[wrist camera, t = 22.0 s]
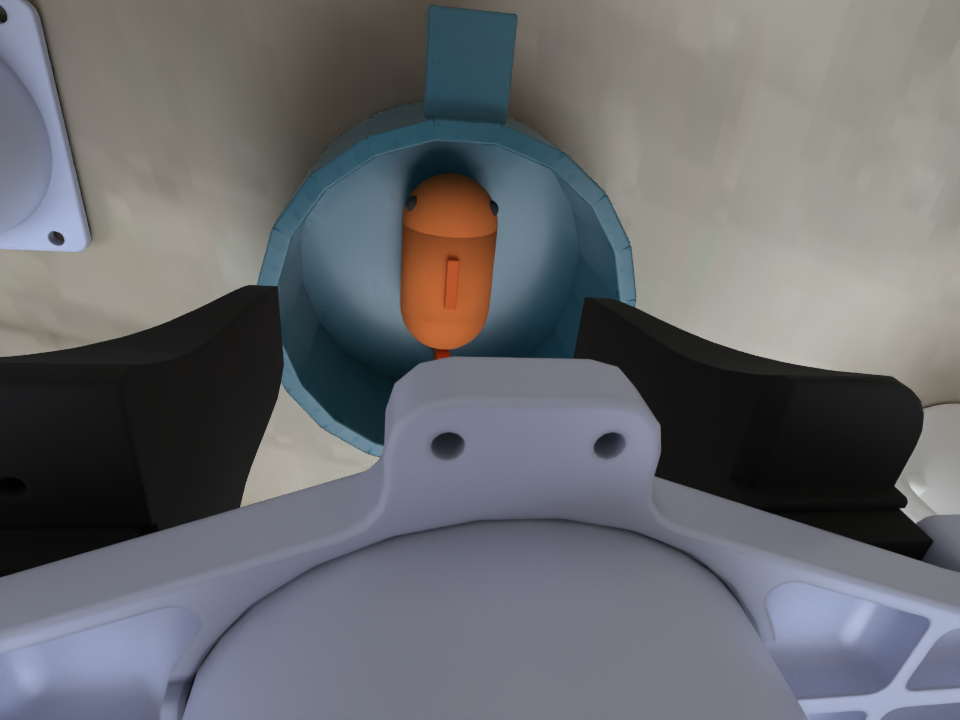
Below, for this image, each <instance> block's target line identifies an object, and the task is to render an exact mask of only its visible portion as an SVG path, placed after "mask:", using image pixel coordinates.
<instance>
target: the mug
mask: <svg viewBox="0 0 960 720" xmlns="http://www.w3.org/2000/svg"><path fill="white" fill-rule="evenodd" d="M923 411H924V421H923V430H922V433H921V435H920V438H919V440H918V443H917V445H916V447H915V449H914V451H913V453H912V455H911V457H910V458H909V460H908V462H907V464H906V466H905V467H904V469H903V471H902V473H901V475H900V477H899V478H898V480H897V482H896V484H895V487H896V488H897V489H898V490H899V491H900V492H901V493H902V494H903V495H905V496H906V497H907V501H908V504H907V505H906V507H905V508H900V509H901V510H902V511H903V512H904V513H905V514H906V515H907V516H908V517H909V518H910V519H911V520H912V521H913V522H914V523H915V524H916V523H917V522H918V521H920V520H922V519H923V518H925V517H928V516H933V515H956V514H960V404H942V405H936V406H931V407H928V408H924V409H923Z"/></svg>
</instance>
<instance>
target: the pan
mask: <svg viewBox="0 0 960 720" xmlns="http://www.w3.org/2000/svg"><path fill="white" fill-rule="evenodd" d="M516 26H517V15H516V14H510V13H501V12H492V11H482V10H473V9H464V8H455V7H445V6H436V5H430V6H429V7H428V8H427V29H426V54H425V79H424V101H421V102H415V103H408V104H404V105H401V106H397V107H394V108H390V109H386V110H384V111H382V112H379V113H375V114H374V115H371V116H369V117H368V118H366V119H365V120H363V121H361V122H360V123H358V124H357V125H355V126H353V127H352V128H350V129H349V130H347V131H346V132H345V133H344V134H342V135H341V136H340V137H339V138H337V139H336V140H334V141H333V142H332V143H330V144H329V145H328V146H327V147H326V148H325V150H324V151H323V152H322V154H321V155H320V157H319V158H318V159H317V160H316V162H315V164H314V165H313V166H312V168H311V169H310V171H309V172H308V173H307V175H306V176H305V178H304V179H303V180H302V182H301V183H300V185H299V186H298V187H297V189H296V191H295V192H294V194H293V195H292V197H291V199H290V200H289V202H288V203H287V205H286V206H285V208H284V210H283V211H282V213H281V214H280V216H279V217H278V219H277V221H276V222H275V224H274V226H273V228H272V230H271V234H270V238H269V241H268V245H267V249H266V253H265V256H264V260H263V264H262V267H261V271H260V275H259V279H258V282H257V284H258V285H261V286H278V296H279V308H280V320H281V333H282V345H283V358H284V369H283V374H282V379H281V382H282V384H283V386H284V388H285V390H286V391H287V392H288V393H289V395H290V396H291V397H292V398H293V399H294V400H295V401H296V402H297V403H298V404H299V405H300V406H301V407H302V408H303V409H304V410H305V411H306V412H307V413H308V414H309V415H310V416H311V417H312V418H313V420H314V421H315V422H316V423H317V424H318V425H319V426H320V427H321V428H323V429H324V430H326V431H328V432H329V433H331V434H333V435H335V436H336V437H338V438H340V439H342V440H343V441H345V442H347V443H349V444H351V445H352V446H354V447H356V448H358V449H359V450H361V451H363V452H365V453H368V454H369V455H373V456H377V457H381V455H382V453H383V448H384V442H385V410H386V407H387V405H388V402H389V399H390V396H391V393H392V390H393V387H394V384H395V383H396V382H397V381H398V380H400V379H401V378H402V377H403V376H405V375H406V374H407V373H408V372H409V371H411V370H412V369H413V368H414V367H416V366H417V365H418V364H419V363H424V362H428V361H433V353H434V348H432V347H429V346H426V345H424V344H423V343H421V342H420V341H418V340H417V339H416V338H415V337H414V336H413V335H412V334H411V333H410V332H409V331H408V329H407V327H406V325H405V324H404V321H403V318H402V314H401V307H400V292H401V254H402V219H403V212H404V208H405V205H406V202H407V200H408V198H409V196H410V195H411V193H412V192H413V190H414V189H415V188H416V187H417V186H418V185H419V184H421V183H422V182H423V181H425V180H426V179H428V178H430V177H433V176H435V175H439V174H445V173H456V174H461V175H464V176H467V177H469V178H471V179H473V180H474V181H476V182H478V183H479V184H480V185H481V186H482V187H483V188H484V189H485V190H486V191H487V192H488V194H489V195H490V197H491V198H492V200H493V201H494V202H496V203H497V205H498V207H499V211H498V214H497V218H498V229H497V239H496V249H495V258H494V268H493V277H492V287H491V296H490V306H489V313H488V318H487V320H486V323H485V325H484V327H483V329H482V330H481V332H480V333H479V334H478V335H477V336H476V337H475V338H474V339H473V340H472V341H471V342H469V343H467V344H466V345H463V346H461V347H459V348H455V349H449V352H450V357H452V356H457V357H507V358H558V359H573V357H574V352H575V346H576V341H577V336H578V330H579V325H580V320H581V314H582V309H583V304H584V298H585V297H595V298H611V299H615V300H618V301H621V302H623V303H626V304H628V305H630V306H633V307H635V303H636V289H635V279H634V269H633V259H632V248H631V246H630V241H629V239H628V237H627V235H626V233H625V231H624V229H623V227H622V225H621V223H620V220H619V218H618V216H617V214H616V212H615V210H614V208H613V206H612V204H611V202H610V200H609V197H608V195H606V193H605V191H604V190H603V189H602V188H601V187H600V186H599V185H598V184H596V183H595V182H594V181H593V180H592V179H591V178H590V177H589V176H588V175H587V174H586V173H585V172H584V171H583V170H582V169H581V168H580V167H579V166H578V165H577V164H576V163H575V162H574V161H573V160H572V159H571V158H570V157H569V156H568V155H567V154H566V153H565V152H563V151H562V150H561V149H559V148H558V147H556V146H555V145H554V144H552V143H551V142H550V141H548V140H547V139H546V138H544V137H543V136H541V135H540V134H539V133H537V132H536V131H535V130H533V129H532V128H530V127H529V126H527V125H525V124H523V123H521V122H518V121H516V120H514V119H512V118H510V117H508V116H507V114H508V104H509V94H510V84H511V75H512V65H513V55H514V46H515V36H516Z"/></svg>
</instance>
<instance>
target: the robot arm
mask: <svg viewBox="0 0 960 720" xmlns="http://www.w3.org/2000/svg"><path fill="white" fill-rule="evenodd" d="M0 6H2V7H3V8H4V9H5V11H6V13H7V21H6V22H5V23H3V22H2V21H1V20H0V249H17V250H41V251H65V252H79V251H82V250H83V249H85V248H86V247H88V246H89V244H90V243H91V235H90V231H89V227H88V222H87V218H86V214H85V210H84V205H83V201H82V197H81V192H80V188H79V184H78V179H77V175H76V171H75V167H74V162H73V158H72V154H71V149H70V145H69V141H68V136H67V132H66V128H65V123H64V119H63V115H62V111H61V106H60V102H59V98H58V93H57V89H56V85H55V80H54V76H53V72H52V68H51V63H50V59H49V55H48V50H47V46H46V42H45V37H44V33H43V29H42V25H41V20H40V17H39V14H38V12H37V10H36V9H35V7H34V6H33V5H32V4H31V3H30V2H28V1H27V0H0ZM54 231H56V232H59V233H60V234H62V235H63V237H64V242H61V241H59V240H57V239H56V238H55V236H54ZM283 369H284V358H283V345H282V333H281V320H280V308H279V296H278V286H261V285H248V286H244V287H242V288H239V289H237V290H235V291H233V292H231V293H228V294H226V295H224V296H222V297H220V298H218V299H216V300H214V301H212V302H210V303H208V304H206V305H204V306H202V307H200V308H198V309H196V310H194V311H191V312H189V313H187V314H185V315H182V316H180V317H178V318H175V319H173V320H171V321H169V322H166V323H164V324H161V325H158V326H156V327H153V328H150V329H147V330H144V331H141V332H138V333H134V334H131V335H128V336H124V337H121V338H117V339H112V340H108V341H104V342H99V343H95V344H90V345H86V346H82V347H77V348H71V349H65V350H59V351H53V352H45V353H37V354H30V355H21V356H11V357H0V720H960V514H956V515H933V516H928V517H925V518H923V519H922V520H920V521H918V522H917V523H916V524H915V523H914V522H913V521H912V520H911V519H910V518H909V517H908V516H907V515H906V514H905V513H904V512H903V511H902V510H901V509H900V508H905V507H906V505H907V504H908V501H907V497H906V496H905V495H903V494H902V493H901V492H900V491H899V490H898V489H897V488H896V487H895V484H896V482H897V480H898V478H899V477H900V475H901V473H902V471H903V469H904V467H905V466H906V464H907V462H908V460H909V458H910V457H911V455H912V453H913V451H914V449H915V447H916V445H917V443H918V440H919V438H920V435H921V433H922V430H923V421H924V411H923V408H922V404H921V401H920V399H919V398H918V397H917V396H916V395H915V393H914V392H913V391H912V390H911V389H909V388H908V387H907V386H905V385H904V384H902V383H901V382H899V381H898V380H897V379H895V378H894V377H891V376H883V375H872V374H862V373H851V372H841V371H832V370H825V369H819V368H813V367H806V366H800V365H795V364H790V363H785V362H780V361H776V360H772V359H768V358H763V357H759V356H755V355H751V354H748V353H744V352H741V351H738V350H735V349H731V348H728V347H725V346H722V345H719V344H716V343H713V342H711V341H708V340H705V339H703V338H700V337H698V336H696V335H693V334H691V333H688V332H686V331H684V330H681V329H679V328H677V327H675V326H673V325H670V324H668V323H666V322H664V321H662V320H660V319H658V318H656V317H654V316H651V315H649V314H647V313H645V312H643V311H641V310H639V309H637V308H635V307H633V306H630V305H628V304H626V303H623V302H621V301H618V300H615V299H611V298H595V297H585V298H584V304H583V309H582V314H581V320H580V325H579V330H578V336H577V341H576V346H575V352H574V357H573V359H558V358H507V357H457V356H452V357H447V358H443V359H438V360H433V361H428V362H424V363H419V364H418V365H417V366H416V367H414V368H413V369H412V370H411V371H409V372H408V373H407V374H406V375H405V376H403V377H402V378H401V379H400V380H398V381H397V382H396V383H395V384H394V387H393V390H392V393H391V396H390V399H389V402H388V405H387V407H386V410H385V442H384V448H383V453H382V455H381V457H380V459H379V460H378V462H376V463H375V464H374V465H373V466H372V467H371V468H370V469H368V470H367V471H364V472H361V473H357V474H354V475H350V476H347V477H344V478H340V479H337V480H333V481H330V482H326V483H323V484H320V485H316V486H313V487H309V488H306V489H302V490H299V491H296V492H292V493H289V494H285V495H282V496H278V497H275V498H272V499H268V500H265V501H261V502H258V503H254V504H251V505H248V506H244V507H241V508H240V505H241V501H242V496H243V492H244V488H245V484H246V481H247V478H248V475H249V472H250V469H251V466H252V463H253V461H254V458H255V456H256V453H257V450H258V448H259V445H260V443H261V440H262V438H263V435H264V433H265V430H266V427H267V425H268V422H269V420H270V417H271V414H272V412H273V409H274V406H275V404H276V401H277V398H278V394H279V389H280V384H281V379H282V374H283Z"/></svg>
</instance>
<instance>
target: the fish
mask: <svg viewBox="0 0 960 720" xmlns="http://www.w3.org/2000/svg"><path fill="white" fill-rule="evenodd" d="M498 211H499V207H498V205H497V203H496V202H494V201H493V200H492V198H491V197H490V195H489V194H488V192H487V191H486V190H485V189H484V188H483V187H482V186H481V185H480V184H479V183H478V182H476V181H474V180H473V179H471V178H469V177H467V176H464V175H461V174H456V173H445V174H439V175H435V176H433V177H430V178H428V179H426V180H425V181H423V182H422V183H421V184H419V185H418V186H417V187H416V188H415V189H414V190H413V192H412V193H411V195H410V196H409V198H408V200H407V202H406V205H405V208H404V212H403V219H402V254H401V292H400V307H401V314H402V318H403V321H404V324H405V325H406V327H407V329H408V331H409V332H410V333H411V334H412V335H413V336H414V337H415V338H416V339H417V340H418V341H420V342H421V343H423V344H424V345H426V346H429V347H432V348H434V353H433V360H438V359H443V358H447V357H450V352H449V349H455V348H459V347H461V346H463V345H466V344H467V343H469V342H471V341H472V340H473V339H474V338H475V337H476V336H477V335H478V334H479V333H480V332H481V330H482V329H483V327H484V325H485V323H486V320H487V318H488V313H489V306H490V296H491V287H492V277H493V268H494V258H495V249H496V239H497V229H498V218H497V214H498Z"/></svg>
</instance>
